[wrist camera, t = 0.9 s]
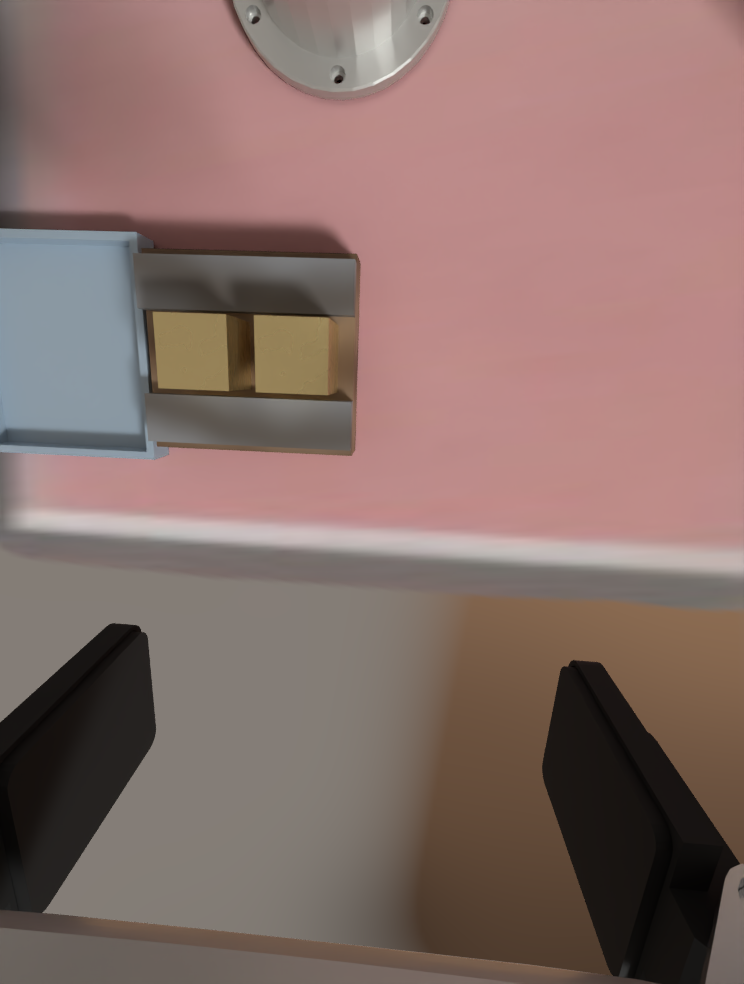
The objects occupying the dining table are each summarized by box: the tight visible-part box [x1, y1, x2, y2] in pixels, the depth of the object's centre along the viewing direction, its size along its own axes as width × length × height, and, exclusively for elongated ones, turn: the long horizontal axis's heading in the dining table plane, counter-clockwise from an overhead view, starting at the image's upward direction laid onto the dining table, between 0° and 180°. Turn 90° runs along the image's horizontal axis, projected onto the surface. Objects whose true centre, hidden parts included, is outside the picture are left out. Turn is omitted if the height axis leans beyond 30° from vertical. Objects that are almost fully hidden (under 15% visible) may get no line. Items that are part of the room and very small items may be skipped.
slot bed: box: [133, 248, 360, 456], centre depth 30 cm, size 12×13×4 cm
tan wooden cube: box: [153, 312, 251, 391], centre depth 27 cm, size 4×4×4 cm
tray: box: [0, 229, 169, 460], centre depth 31 cm, size 14×12×2 cm
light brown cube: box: [254, 315, 339, 395], centre depth 27 cm, size 4×4×4 cm
